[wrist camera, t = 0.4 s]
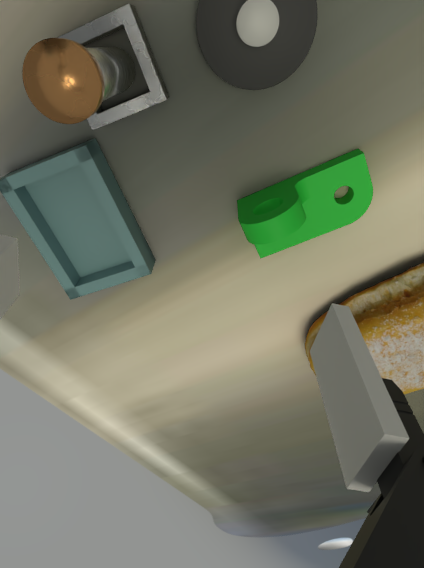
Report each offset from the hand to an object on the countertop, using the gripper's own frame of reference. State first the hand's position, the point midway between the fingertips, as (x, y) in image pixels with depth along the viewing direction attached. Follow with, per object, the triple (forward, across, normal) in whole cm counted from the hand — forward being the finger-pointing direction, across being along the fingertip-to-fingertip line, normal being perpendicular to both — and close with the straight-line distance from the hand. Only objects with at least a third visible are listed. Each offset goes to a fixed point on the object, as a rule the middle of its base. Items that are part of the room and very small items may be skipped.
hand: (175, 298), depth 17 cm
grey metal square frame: (+24, -9, +5) cm, 26 cm away
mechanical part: (+24, +11, -2) cm, 27 cm away
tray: (+24, -10, -9) cm, 28 cm away
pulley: (+24, +2, +11) cm, 27 cm away
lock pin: (+24, -9, +5) cm, 26 cm away
